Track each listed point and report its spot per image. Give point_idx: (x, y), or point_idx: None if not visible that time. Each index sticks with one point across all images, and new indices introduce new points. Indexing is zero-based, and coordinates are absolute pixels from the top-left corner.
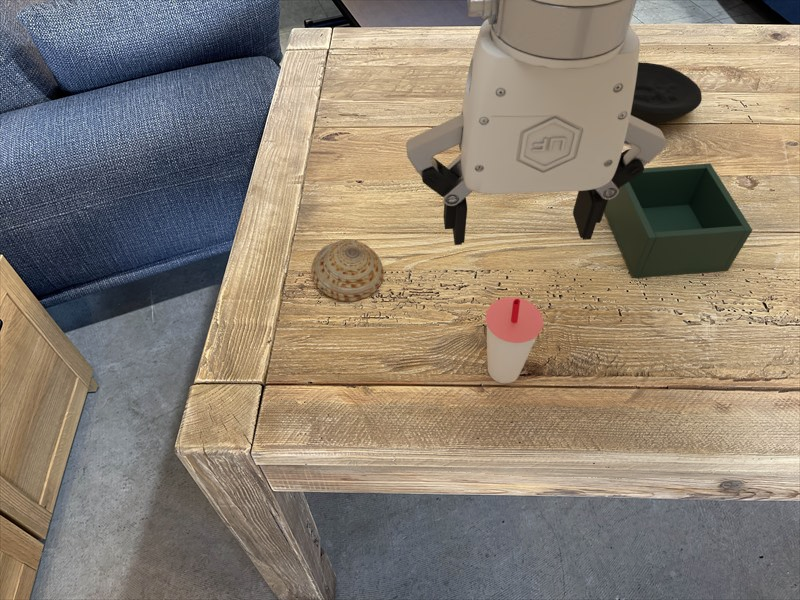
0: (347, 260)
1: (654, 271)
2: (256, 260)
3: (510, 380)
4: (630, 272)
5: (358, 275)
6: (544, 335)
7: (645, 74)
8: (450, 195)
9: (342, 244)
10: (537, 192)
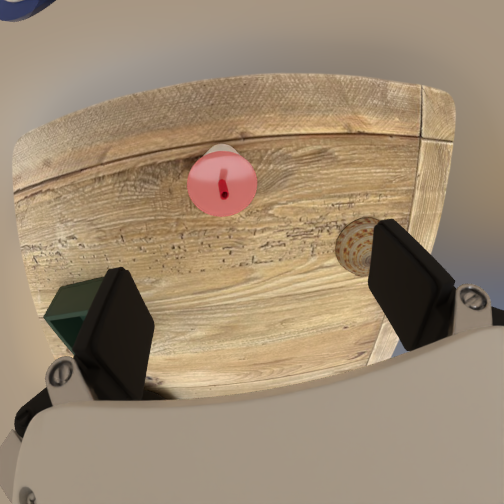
0: None
1: (102, 280)
2: None
3: (215, 145)
4: None
5: (363, 240)
6: (184, 203)
7: None
8: (479, 307)
9: None
10: (288, 395)
